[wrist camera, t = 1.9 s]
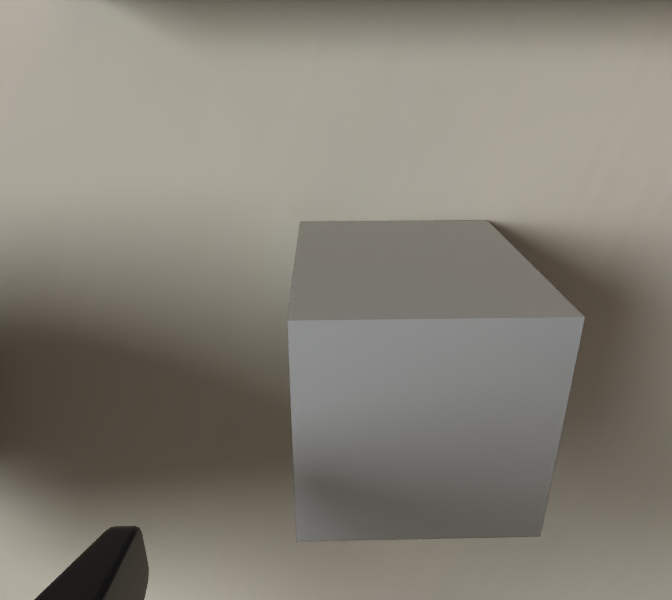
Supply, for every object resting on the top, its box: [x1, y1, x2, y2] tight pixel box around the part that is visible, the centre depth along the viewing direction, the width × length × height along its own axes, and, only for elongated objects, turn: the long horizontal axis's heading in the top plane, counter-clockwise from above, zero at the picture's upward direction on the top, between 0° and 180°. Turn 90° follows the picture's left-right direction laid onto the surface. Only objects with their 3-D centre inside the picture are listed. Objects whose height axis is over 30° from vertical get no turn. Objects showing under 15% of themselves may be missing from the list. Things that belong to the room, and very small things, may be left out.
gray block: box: [287, 220, 585, 542], centre depth 13 cm, size 5×5×6 cm
